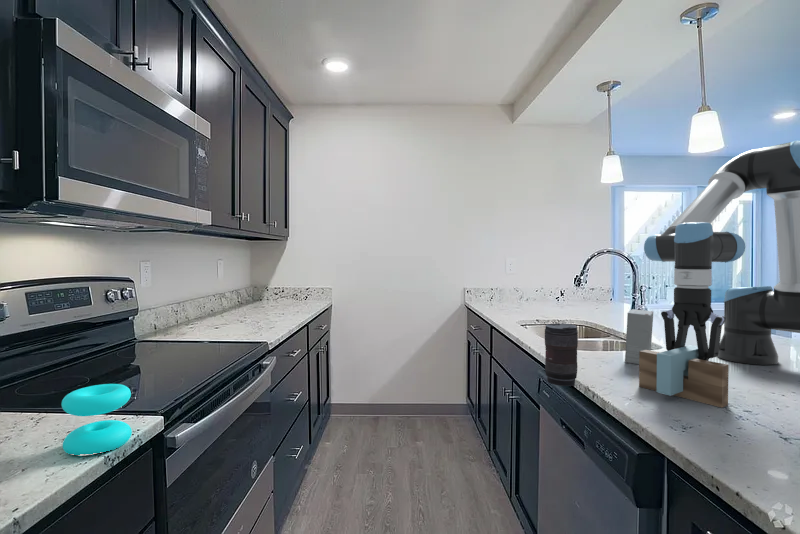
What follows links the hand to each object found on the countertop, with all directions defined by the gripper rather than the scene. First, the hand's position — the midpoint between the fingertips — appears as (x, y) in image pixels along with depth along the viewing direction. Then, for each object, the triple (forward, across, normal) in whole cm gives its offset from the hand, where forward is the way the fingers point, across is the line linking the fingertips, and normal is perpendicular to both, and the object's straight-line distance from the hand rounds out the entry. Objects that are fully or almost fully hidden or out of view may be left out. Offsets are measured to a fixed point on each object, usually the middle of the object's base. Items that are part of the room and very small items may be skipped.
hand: (690, 383), depth 105 cm
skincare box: (+2, -23, +19) cm, 30 cm away
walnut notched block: (+2, 0, -5) cm, 5 cm away
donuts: (+3, -42, -120) cm, 127 cm away
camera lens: (+2, -22, -20) cm, 30 cm away
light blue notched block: (0, 0, -5) cm, 5 cm away
